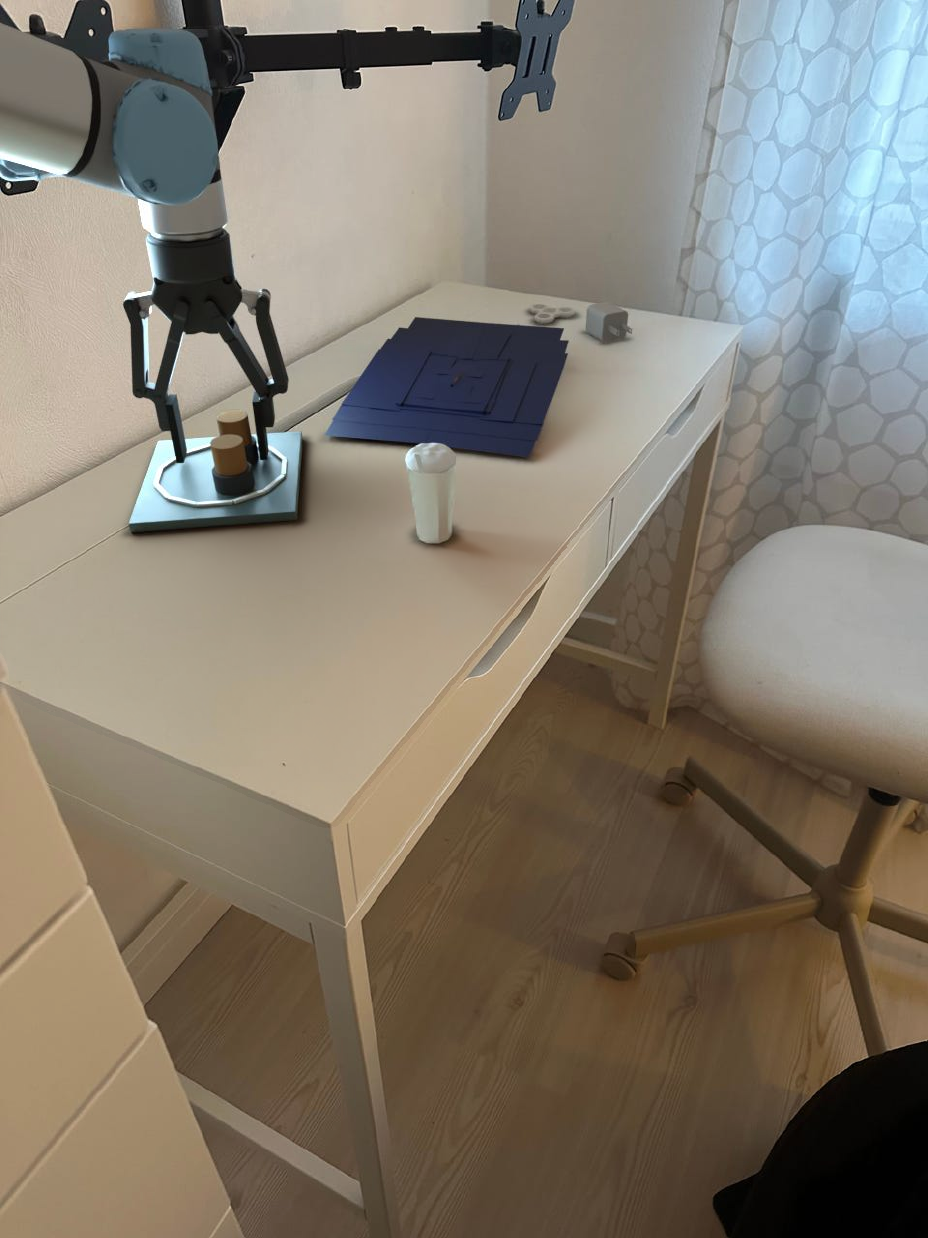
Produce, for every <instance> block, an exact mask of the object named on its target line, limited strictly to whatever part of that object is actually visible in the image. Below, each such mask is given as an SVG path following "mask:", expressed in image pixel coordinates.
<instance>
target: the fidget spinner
mask: <svg viewBox="0 0 928 1238" xmlns="http://www.w3.org/2000/svg"><path fill="white" fill-rule="evenodd" d="M529 312H530V313H532V314H535V315H534V316H533V318H534V319H533V320H534V321H535V322H536V323H539V324H549V323H552V322H553V321H554V319H556V318H569V317H573V316H574V315H575V314H576V310H575V309H574V308H572V307H569V306H562V307H551V306H548V305H547V304H544V303H534V304H532V305H530V306H529Z"/></svg>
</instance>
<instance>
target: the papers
mask: <svg viewBox="0 0 928 1238" xmlns="http://www.w3.org/2000/svg"><path fill="white" fill-rule="evenodd" d="M564 330H565V328H564V327H554V326H553V327H551V326H536V325H524V324H523V325H522V324H509V323H507V324H506V323H495V322H479V321H470V320H469V321H467V320H458V319H443V318H431V317H419V316H414V318H413V320H412V321H411V323H410V324H409V326H408V327H398V329H397V330H396V331H395V332H394V334H393V335H392V336H391V338H387V339H386V340H385V341H384V343H383V344H382V345H381V347H380V348H378V350H377V351H376V352H375V354H374V356H373V357H372V359H371V360H370V362H369V363H368V364H367V366H366V367H365V369H364V370H363V372H362V373H361V375H360V376H359V377H358V379H357V381H355V383H354V385H353V387H352V388H351V390H350V391H349V392H348V394H347V395H346V397H345V398H344V400H343V401H342V402H341V404H340V406H339V408H338V410H337V411H336V413H335V414H334V416H333V418H332V419H331V420H332V422H331V423H330V424H329V426H328V428H327V429H326V431H325V433H324V436H328V437H340V438H351V439H363V440H374V441H376V440H377V441H388V442H401V443H412V444H413V443H414V444H421V443H440V444H444V445H446V446H447V447H449V448H454V449H463V450H471V451H477V452H483V453H484V452H485V453H493V454H499V455H508V456H515V457H523V458H530V456H531V453H532V451H533V449H534V446H535V445H536V442H538V440H539V437H540V434H541V432H542V430H543V427H544V425H545V421H546V416H547V415H548V412H549V409H550V406H551V403H552V401H553V399H554V395H555V392H556V391H557V390H556V389H557V387H558V384H559V381H560V379H561V376H562V373H563V370H564V368H565V366H566V361H567V358H568V355H569V352H567V349H568V346H569V345H568V344H569V341H570V340H565V339H562V335H563V333H564ZM566 352H567V353H566Z"/></svg>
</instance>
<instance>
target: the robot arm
mask: <svg viewBox="0 0 928 1238" xmlns="http://www.w3.org/2000/svg"><path fill="white" fill-rule="evenodd" d="M202 45H203V44H202V42H201V41H200V40H199V37H198V36H196V35H195V33H192V32H191V31H190V30H189V31H188V30H186V29H178V28H176V29H175V28H157V27H156V28H151V27H150V28H126V29H117V30H114V31H112V32H111V33H110V34H109V37H108V50H109V52H108V54H107V55H108V59H107V60H106V59H105V60H102V61H97V60H94V59H92V58H89V57H85V56H82V55H79V54H77V53H75V52H73V51H72V50H70V49H67V48H65V47H62V46H60V45H57V44H54V43H51V42H49V41H47V40H45V39H42V38H40V37H37V36H35V35H32V34H29V33H27V32H25V31H22V30H20V29H17V28H14V27H12V26H10V25H7V24H4V23H2V22H0V178H1V179H4V180H5V181H10V182H18V181H20V182H21V181H32V180H34V181H36V182H41V181H43V180H44V179H48V178H57V177H62V178H63V177H64V178H67V179H71V180H74V181H78V182H81V183H85V184H88V185H91V186H94V187H98V188H102V189H105V190H109V191H112V192H116V193H119V194H123V195H125V196H129V197H133V198H135V199H137V200H138V206H139V211H140V217H141V223H142V227H143V229H145V230H146V231H148V232H149V233H148V234H147V236H146V237H145V243H146V248H147V255H148V259H149V264H150V270H151V275H152V281H153V282H152V283H153V285H152V288H151V291H145V292H141V293H138V292H136V291H130V292H128V293H127V296H126V297H125V299H124V300H123V303H122V306H123V310H124V312H125V314H126V317H127V319H128V322H129V324H130V325H129V326H130V327H129V328H130V356H131V357H130V359H131V386H132V387H131V388H132V389H131V390H132V395H133V396H134V397H135V398H136V399H146V400H147V399H148V400H150V401H151V402H152V403H153V404H154V407H155V413H156V418H157V422H158V427H159V429H160V430H161V432H170V436H171V437H170V438H171V440H172V442H173V447H174V452H175V457H176V462H177V463H184V461H185V458H186V454H187V447H186V442H185V439H186V438H185V431H184V426H183V421H182V416H181V412H180V406H179V400H178V395H177V393H170V394H169V389H170V385H171V381H172V378H173V374H174V371H175V367H176V364H177V359H178V355H179V352H180V350H181V349H180V348H181V345H182V342H183V337H184V334H185V335H186V336H187V335H196V334H199V333H205V334H209V335H218V334H219V336H220V338H221V339H222V341H223V342H224V343H225V344H227V347H228V348H229V349H230V351H231V353H232V354H233V357H234V358H235V360H236V362H237V364H239V366H240V368H241V369H242V371H243V373H244V374H245V376H246V378H247V379H248V381H249V383H250V385H251V386H252V388H253V390H254V391H253V396H252V402H251V403H252V411H253V419H254V425H255V434H257V441H258V449H259V456H260V460H267V457H268V449H269V447H268V439H267V433H268V432H267V428H274V426H275V423H276V413H275V406H274V405H275V403H274V397H275V396H277V395H280V394H281V395H284V394H286V393H287V392H288V391H289V389H288V388H289V380H290V379H289V375H288V372H287V369H286V364H285V361H284V359H283V358H284V357H283V355H282V351H281V348H280V345H279V341H278V337H277V333H276V330H275V327H274V324H273V323H274V322H273V320H272V317H271V313H270V312H271V299H272V297H271V296H272V295H271V292H270V290H269V289H267V288H261V289H260V290H259V291H256V290H250V289H243V288H242V286H241V284H240V283H239V282H238V279H237V277H236V271H235V265H234V257H233V250H232V242H231V235H230V233H229V232H228V231H227V230H226V229H225V227H226V226H227V224H228V222H229V219H228V213H227V204H226V199H225V192H224V185H223V178H222V173H221V163H220V156H219V155H220V153H219V145H218V138H217V131H216V122H215V114H214V107H213V106H214V105H213V100H212V99H213V98H212V97H213V89H212V88H211V83H210V82H211V81H210V78H209V77H210V76H209V72H208V66H207V61H206V59H205V54H204V49H203V46H202ZM241 303H242V304H244V305H245V306H246V307H247V312H248V313H249V314H250V315H252V316H255V322H256V328H257V331H258V335H259V339H260V342H261V345H262V348H263V351H264V354H265V355H264V356H265V357H266V361H267V364H268V368H269V371H270V374H271V379H269V377H268V375H267V373H266V372H265V370H264V369H263V367H262V365H261V363H260V362H259V360H258V359H257V357H256V355H255V353H254V352H253V350H252V348H251V347H250V345H249V343H248V341H247V340H246V338H245V337H244V335H243V333H242V331H241V329H240V327H239V324H238V322H237V320H236V319H235V317H234V315H235V313H236V311H237V310H238V308H239V306H240V304H241ZM152 306H155V307H156V308H157V309H158V310H159V311H160V312H161V313H162V314H163V316H165V317H166V319H168V321H169V322H170V326H169V330H168V333H167V337H166V343H165V347H164V349H163V354H162V359H161V362H160V366H159V370H158V373H157V377H156V381H155V382H151V381H150V365H149V364H150V361H149V360H150V359H149V321H148V319H149V316H150V315H151V314H152Z"/></svg>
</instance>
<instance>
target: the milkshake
mask: <svg viewBox="0 0 928 1238" xmlns="http://www.w3.org/2000/svg"><path fill="white" fill-rule="evenodd" d="M404 462H405V466H406V472H407V478H408V482H409V490H410V496H411V502H412V509H413V515H414V523H415V530H416V534H417V537H418V539H419V541H422V542H423V543H426V544H442V543H443V542H446V541H448V540H449V539H450V538H451V536H452V535H453V534H452V533H453V515H454V497H455V496H454V495H455V480H456V479H455V478H456V464H457V455H456V452H454V450H452V449H451V447H447V446H446V445H444V444H440V443H418V444H417V445H415V446H413V447H412V448H410V449H409V450H408V452H407V453H406V455H405V458H404Z"/></svg>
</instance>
